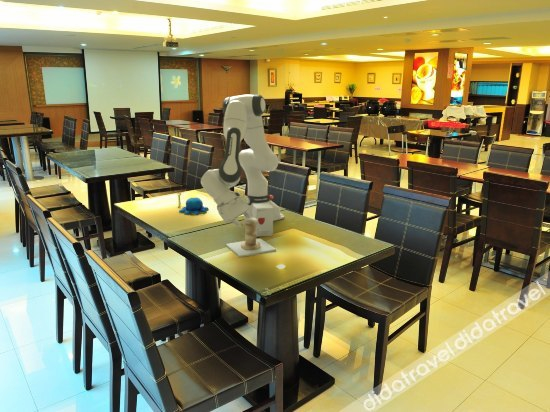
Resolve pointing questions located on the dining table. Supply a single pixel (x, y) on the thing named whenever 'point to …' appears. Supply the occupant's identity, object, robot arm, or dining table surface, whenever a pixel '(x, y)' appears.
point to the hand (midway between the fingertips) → (245, 223)
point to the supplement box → (263, 219)
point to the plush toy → (194, 207)
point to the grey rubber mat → (242, 252)
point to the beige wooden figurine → (250, 235)
